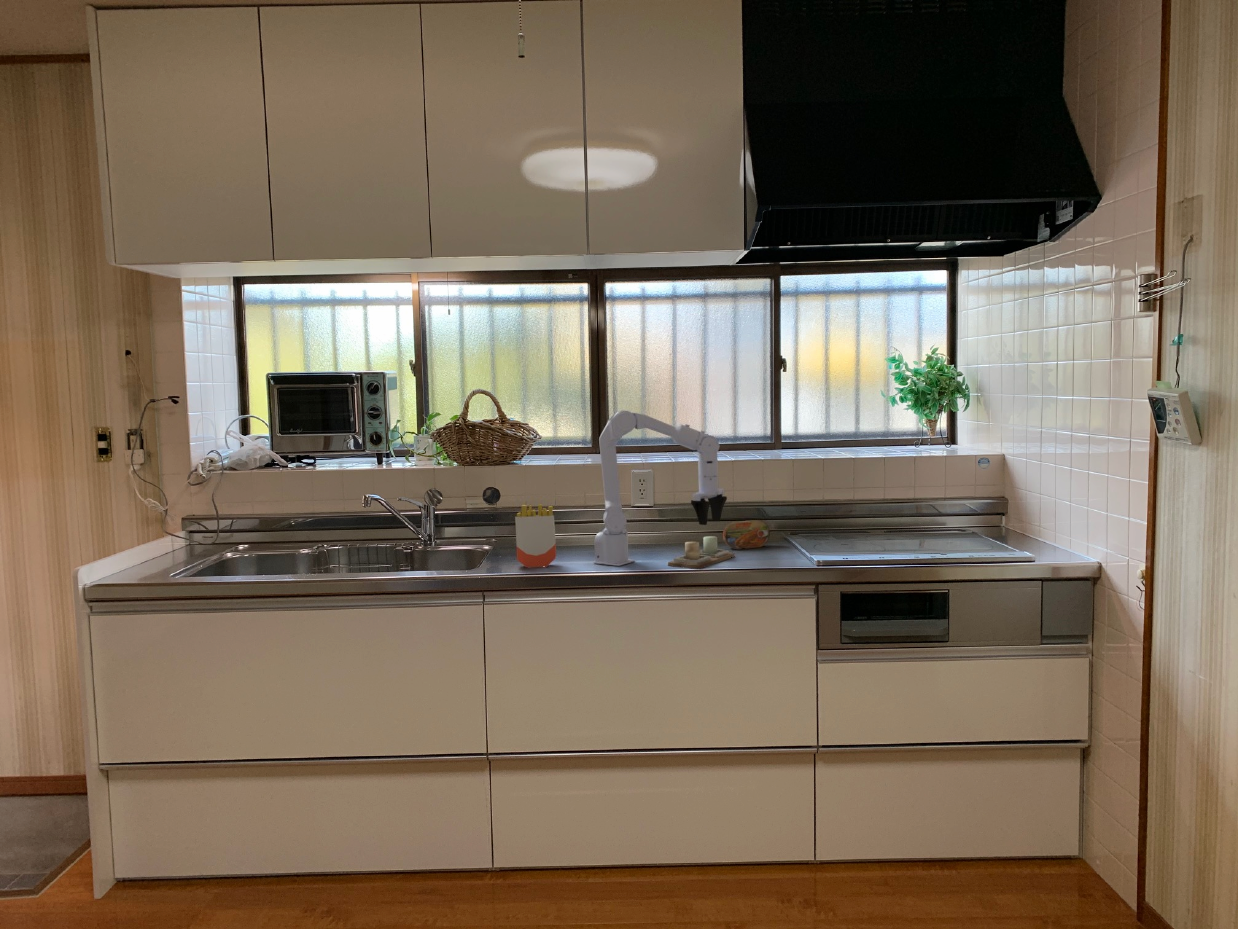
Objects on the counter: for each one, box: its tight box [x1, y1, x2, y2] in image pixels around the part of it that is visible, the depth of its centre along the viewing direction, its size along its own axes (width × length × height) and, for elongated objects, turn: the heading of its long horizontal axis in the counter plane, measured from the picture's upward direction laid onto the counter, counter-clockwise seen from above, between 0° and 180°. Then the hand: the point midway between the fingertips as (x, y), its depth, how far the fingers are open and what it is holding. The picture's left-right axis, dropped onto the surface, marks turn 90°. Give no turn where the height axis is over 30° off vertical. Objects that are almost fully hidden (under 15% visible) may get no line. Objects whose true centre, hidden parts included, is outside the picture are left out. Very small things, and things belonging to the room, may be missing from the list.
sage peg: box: [702, 535, 719, 554], centre depth 242 cm, size 4×4×5 cm
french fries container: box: [514, 504, 557, 568], centre depth 240 cm, size 5×11×18 cm, turn 90°
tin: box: [722, 519, 771, 550], centre depth 258 cm, size 15×3×8 cm, turn 105°
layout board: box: [667, 548, 735, 570], centre depth 239 cm, size 10×20×2 cm, turn 143°
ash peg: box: [684, 541, 700, 560], centre depth 234 cm, size 4×4×5 cm
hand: (709, 522), depth 242 cm, fingers open, 7 cm apart
